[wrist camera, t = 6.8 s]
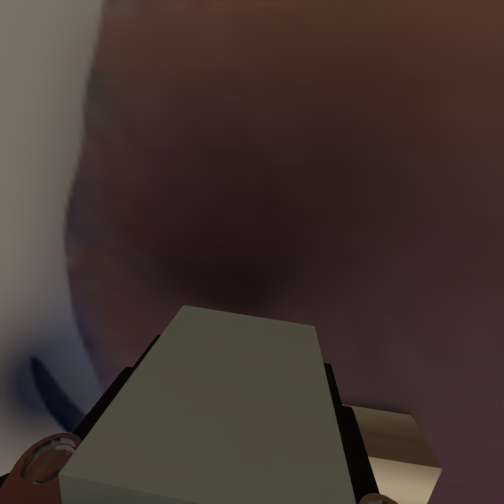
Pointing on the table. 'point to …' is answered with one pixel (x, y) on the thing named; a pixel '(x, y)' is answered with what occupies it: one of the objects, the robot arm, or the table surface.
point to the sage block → (217, 421)
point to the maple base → (398, 455)
